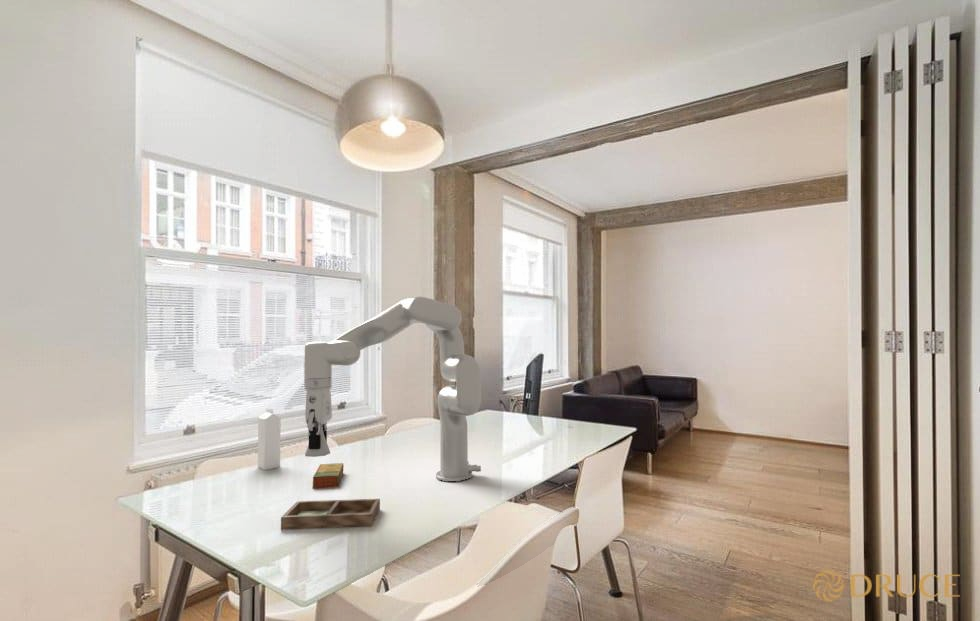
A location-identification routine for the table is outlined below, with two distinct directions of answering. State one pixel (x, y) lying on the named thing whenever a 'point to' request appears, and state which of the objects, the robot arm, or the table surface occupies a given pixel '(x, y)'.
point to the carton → (328, 475)
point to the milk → (269, 440)
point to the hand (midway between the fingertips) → (317, 446)
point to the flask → (323, 449)
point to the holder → (331, 514)
